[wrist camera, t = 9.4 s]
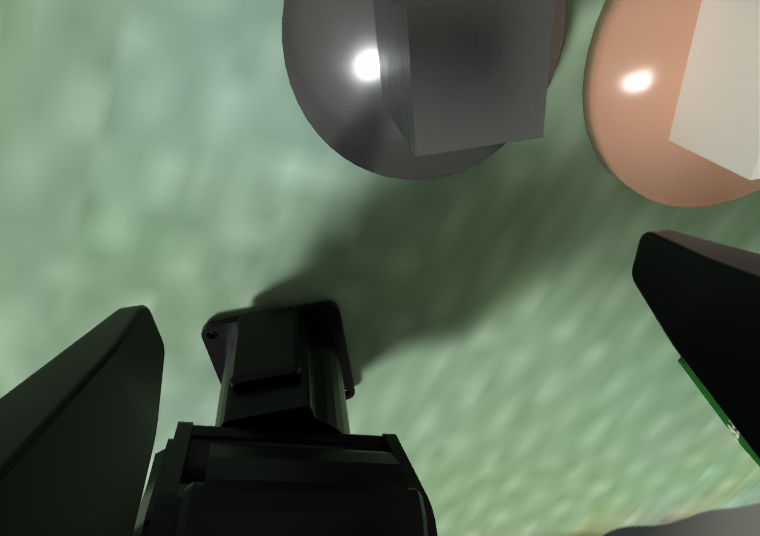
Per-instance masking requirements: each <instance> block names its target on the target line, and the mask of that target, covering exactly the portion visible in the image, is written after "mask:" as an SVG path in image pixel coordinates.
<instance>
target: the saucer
mask: <svg viewBox="0 0 760 536" xmlns="http://www.w3.org/2000/svg"><path fill="white" fill-rule="evenodd" d="M701 2H702V0H606V1H605V3H604V6H603V8H602V11H601V13H600V15H599V18H598V20H597V23H596V25H595V29H594V32H593V35H592V39H591V42H590V45H589V49H588V54H587V59H586V65H585V70H584V81H583V110H584V118H585V123H586V128H587V133H588V135H589V138H590V141H591V144H592V146H593V149H594V150H595V152H596V154H597V156H598V157H599V159H600V161H601V162H602V164H603V165H604V166H605V167H606V168H607V170H608V171H609V172H610V173H611V174H612V175H613V176H615V177H616V178H617V179H618V180H619V181H621V182H622V183H623V184H625V185H626V186H628V187H629V188H631V189H632V190H634V191H635V192H637V193H638V194H640V195H642V196H644V197H645V198H647V199H649V200H651V201H654V202H657V203H660V204H663V205H668V206H674V207H688V208H697V207H705V206H713V205H717V204H722V203H726V202H730V201H733V200H736V199H739V198H742V197H745V196H747V195H750V194H752V193H754V192H756V191H758V190H760V179H755V180H748V179H746V178H744V177H742V176H740V175H738V174H736V173H734V172H732V171H730V170H728V169H726V168H724V167H722V166H720V165H718V164H716V163H714V162H712V161H710V160H708V159H706V158H704V157H702V156H700V155H698V154H696V153H694V152H692V151H690V150H688V149H685V148H683V147H681V146H679V145H677V144H675V143H673V142H671V141H669V136H670V132H671V128H672V124H673V119H674V115H675V111H676V107H677V103H678V98H679V94H680V90H681V86H682V82H683V78H684V73H685V69H686V65H687V61H688V57H689V52H690V48H691V44H692V40H693V36H694V32H695V27H696V23H697V19H698V15H699V11H700V6H701Z"/></svg>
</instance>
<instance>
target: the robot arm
mask: <svg viewBox="0 0 760 536" xmlns="http://www.w3.org/2000/svg"><path fill="white" fill-rule="evenodd" d="M632 276H633V280H634V282H635V284H636V286H637V287H638V289H639V291H640V292H641V294H642V296H643V297H644V299H645V301H646V302H647V304H648V306H649V307H650V309H651V310H652V312H653V314H654V315H655V317H656V319H657V320H658V322H659V324H660V325H661V327H662V329H663V330H664V332H665V334H666V335H667V337H668V338H669V340H670V341H671V343H672V345H673V346H674V347H675V349H676V350H677V352H678V353H679V354H680V356H681V357H682V358H683V360H684V361H685V362H686V364H687V365H688V366H689V368H690V369H691V370H692V372H693V373H694V374H695V375H696V377H697V378H698V379H699V381H700V382H701V383H702V385H703V386H704V387H705V389H706V390H707V391H708V393H709V394H710V395H711V397H712V398H713V399H714V400H715V402H716V403H717V404H718V406H719V407H720V408H721V410H722V411H723V412H724V414H725V415H726V416H727V418H728V419H729V420H730V422H731V423H732V424H733V426H734V427H735V428H736V429H737V431H738V432H739V433H740V435H741V436H742V437H743V439H744V440H745V441H746V443H747V444H748V445H749V447H750V448H751V449H752V451H753V452H754V453H755V454H756V456H757V457H758V458H759V460H760V254H757V253H753V252H749V251H746V250H742V249H738V248H735V247H731V246H727V245H723V244H720V243H716V242H712V241H708V240H705V239H701V238H697V237H694V236H690V235H686V234H682V233H679V232H675V231H671V230H658V231H651V232H646V233H645V234H643V235H642V237H641V238H640V241H639V245H638V249H637V253H636V256H635V260H634V264H633V268H632ZM327 310H332V311H333V312H332V313H326V311H327ZM210 331H215V332H217V333H216V334H212V333H210ZM201 335H202V339H203V341H204V344H205V346H206V349H207V351H208V354H209V356H210V359H211V361H212V363H213V366H214V368H215V371H216V373H217V376H218V378H219V381H220V383H221V390H220V397H219V404H218V410H217V417H216V423H215V426H201V425H193V422H178V425H177V429H176V432H175V436H174V439H168V442H167V445H166V448H165V449H164V450H162V451H160V452H158V453H156V454H155V457H154V461H153V465H152V469H151V472H150V476H149V480H148V483H147V487H146V490H145V493H144V496H143V498H142V493H143V489H144V485H145V480H146V476H147V472H148V467H149V463H150V459H151V454H152V450H153V445H154V441H155V436H156V429H157V422H158V413H159V403H160V393H161V384H162V374H163V364H164V344H163V341H162V338H161V336H160V333H159V331H158V329H157V326H156V324H155V321H154V319H153V316H152V314H151V312H150V310H149V309H148V308H147V307H146V306H144V305H139V306H132V307H125V308H121V309H119V310H117V311H116V312H114V313H113V314H112V315H110V316H109V317H108V318H106V319H105V320H104V321H102V322H101V323H100V324H99V325H97V326H96V327H95V328H93V329H92V330H91V331H89V332H88V333H87V334H85V335H84V336H83V337H81V338H80V339H79V340H77V341H76V342H75V343H73V344H72V345H71V346H69V347H68V348H67V349H65V350H64V351H63V352H61V353H60V354H59V355H57V356H56V357H55V358H54V359H52V360H51V361H50V362H48V363H47V364H46V365H44V366H43V367H42V368H40V369H39V370H38V371H36V372H35V373H34V374H32V375H31V376H30V377H28V378H27V379H26V380H24V381H23V382H22V383H20V384H19V385H18V386H16V387H15V388H14V389H12V390H11V391H10V392H9V393H7V394H6V395H5V396H3V397H2V398H1V399H0V536H437V529H436V522H435V517H434V514H433V510H432V506H431V504H430V501H429V499H428V497H427V495H426V493H425V491H424V489H423V487H422V485H421V483H420V481H419V479H418V477H417V475H416V473H415V471H414V469H413V467H412V465H411V463H410V461H409V459H408V457H407V455H406V453H405V451H404V449H403V447H402V446H401V444H400V442H399V440H398V438H397V436H396V434H382V436H375V435H358V434H350V428H349V420H348V413H347V405H346V400H347V399H350V398H351V397H353V396H354V394H355V389H354V383H353V378H352V373H351V368H350V362H349V357H348V352H347V346H346V341H345V336H344V330H343V325H342V320H341V315H340V309H339V306H338V304H337V303H336V302H333V301H324V302H318V303H313V304H307V305H301V306H296V307H288V308H282V309H276V310H271V311H265V312H260V313H254V314H248V315H243V316H240V317H234V318H228V319H223V320H217V321H212V322H208V323H206V324H205V325H204V326H203V329H202V333H201ZM345 390H347V391H345ZM141 498H142V501H141ZM140 502H141V503H140Z"/></svg>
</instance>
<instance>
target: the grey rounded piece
mask: <svg viewBox="0 0 760 536" xmlns="http://www.w3.org/2000/svg"><path fill="white" fill-rule="evenodd" d="M566 8H567V3H566V0H284V8H283V17H282V44H283V51H284V59H285V65H286V69H287V73H288V77H289V81H290V84H291V87H292V89H293V92H294V94H295V97H296V99H297V102H298V104H299V106H300V107H301V109H302V111H303V113H304V115H305V117H306V118H307V120H308V121H309V123H310V124H311V125H312V127H313V128H314V129H315V131H316V132H317V134H318V135H319V136H320V137H321V138H322V139H323V140H324V141H325V142H326V143H327V144H328V145H329V146H330V147H331V148H332V149H334V150H335V151H336V152H337V153H339V154H340V155H341V156H342V157H344V158H345V159H347V160H349V161H350V162H352V163H354V164H355V165H357V166H359V167H361V168H364V169H366V170H368V171H370V172H373V173H376V174H380V175H383V176H387V177H393V178H399V179H428V178H436V177H440V176H445V175H449V174H452V173H455V172H458V171H461V170H464V169H466V168H468V167H470V166H472V165H474V164H476V163H478V162H480V161H482V160H483V159H485V158H487V157H488V156H490V155H491V154H493V153H494V152H496V151H497V150H498V149H499V148H501V147H502V146H503V145H504V144H506V143H507V142H513V141H519V140H526V139H532V138H538V137H543V128H544V117H545V105H546V94H547V88H548V86H549V84H550V82H551V80H552V77H553V75H554V72H555V69H556V67H557V64H558V60H559V57H560V53H561V49H562V45H563V39H564V33H565V27H566Z"/></svg>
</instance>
